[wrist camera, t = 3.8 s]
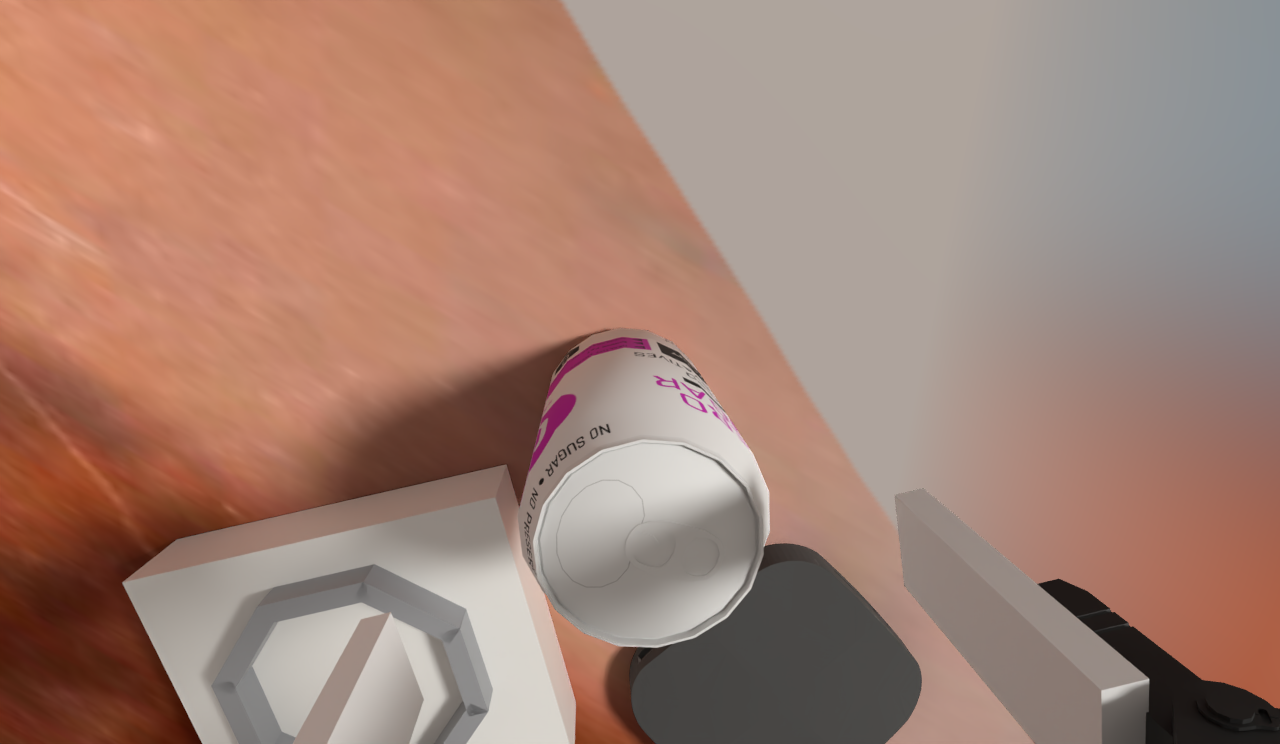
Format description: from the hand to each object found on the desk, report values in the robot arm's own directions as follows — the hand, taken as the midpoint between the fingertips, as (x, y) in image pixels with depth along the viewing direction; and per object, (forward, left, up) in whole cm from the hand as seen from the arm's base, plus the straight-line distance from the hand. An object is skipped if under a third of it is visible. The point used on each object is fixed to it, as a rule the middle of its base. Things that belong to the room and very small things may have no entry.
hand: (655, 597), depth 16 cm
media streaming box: (-5, +19, -18) cm, 27 cm away
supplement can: (0, 0, -18) cm, 18 cm away
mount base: (+16, +10, -18) cm, 26 cm away
